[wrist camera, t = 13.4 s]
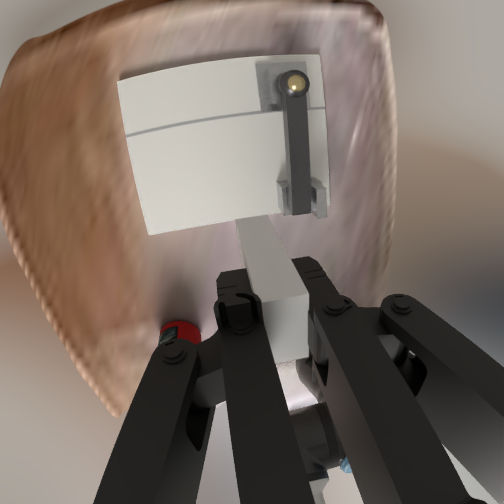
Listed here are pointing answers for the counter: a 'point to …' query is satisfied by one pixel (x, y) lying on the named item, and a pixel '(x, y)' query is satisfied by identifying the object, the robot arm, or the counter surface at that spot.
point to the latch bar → (296, 139)
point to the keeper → (316, 198)
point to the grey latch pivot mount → (274, 83)
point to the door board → (213, 141)
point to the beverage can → (179, 332)
